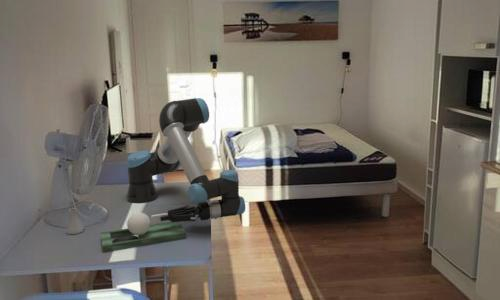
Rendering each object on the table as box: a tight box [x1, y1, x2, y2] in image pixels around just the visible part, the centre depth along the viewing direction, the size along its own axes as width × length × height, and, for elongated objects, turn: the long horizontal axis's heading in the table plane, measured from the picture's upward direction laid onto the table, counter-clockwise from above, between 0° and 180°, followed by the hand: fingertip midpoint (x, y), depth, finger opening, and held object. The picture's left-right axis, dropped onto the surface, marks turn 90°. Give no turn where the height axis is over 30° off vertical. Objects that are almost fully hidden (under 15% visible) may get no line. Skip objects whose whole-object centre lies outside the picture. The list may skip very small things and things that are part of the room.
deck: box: [100, 221, 187, 253], centre depth 192 cm, size 14×32×2 cm, turn 109°
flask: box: [65, 207, 85, 235], centre depth 201 cm, size 7×7×10 cm
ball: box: [126, 211, 151, 236], centre depth 189 cm, size 9×9×9 cm
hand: (151, 219), depth 192 cm, fingers closed
